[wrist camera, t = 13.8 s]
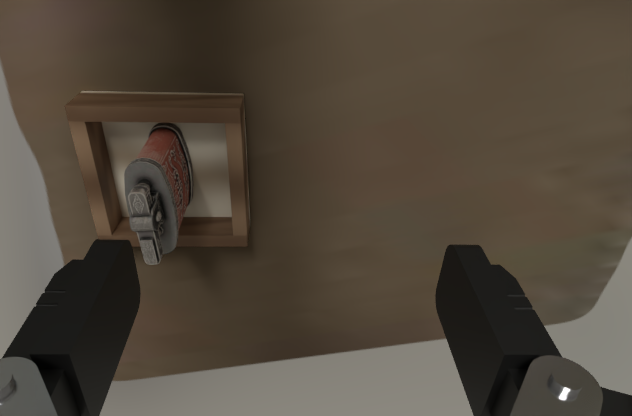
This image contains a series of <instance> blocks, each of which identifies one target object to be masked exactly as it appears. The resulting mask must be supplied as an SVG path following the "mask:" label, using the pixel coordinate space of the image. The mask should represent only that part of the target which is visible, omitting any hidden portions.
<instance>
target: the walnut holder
mask: <svg viewBox="0 0 632 416" xmlns="http://www.w3.org/2000/svg"><path fill="white" fill-rule="evenodd" d="M65 110H66V114H67V118H68V122H69V126H70V130H71V133H72V137H73V141H74V145H75V149H76V153H77V157H78V161H79V165H80V169H81V172H82V176H83V180H84V184H85V188H86V192H87V196H88V200H89V204H90V208H91V211H92V215H93V219H94V223H95V227H96V231H97V235H98V239H109V240H129V241H130V243H131V245H132V247H141V246H140V243H139V239H138V236H137V234H136V232H134V231H132V230H131V228H130V224H129V217H130V216H129V213H128V208H127V202H126V197H125V183H124V173H125V169H126V168H127V166H128V165H129V164H130V162H131V161H133V160H135V159H136V157H137V156H138V154H139V153H140V151H141V149H142V148H143V146H144V145H145V143H146V142H147V140H148V135H149V132H150V131H151V129H152V128H153V126H154V125H156V124H158V123H173V124H175V125H176V126H178V127H179V128H180V130H181V131H182V133H183V136H184V139H185V141H186V144H187V146H188V150H189V154H190V158H191V162H192V167H193V178H194V187H193V198H192V201H191V203H190V205H189V206H188V207H187V208H186V211H185V214H184V216H183V219H182V222H181V225H180V228H179V231H178V241H177V244H176V247H248V240H249V232H250V206H249V186H248V166H247V147H246V127H245V107H244V93H181V92H116V91H81V92H80V93H79V94H78V95H77V96H76V97H75V98H73V99H72V100H71V101H70V102H69V103H68V104H66V105H65Z"/></svg>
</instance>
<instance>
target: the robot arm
mask: <svg viewBox="0 0 632 416" xmlns="http://www.w3.org/2000/svg"><path fill="white" fill-rule="evenodd" d="M139 304H140V284H139V279H138V274H137V269H136V264H135V259H134V254H133V249H132V245H131V243H130V241H129V240H109V239H97V240H95V241H94V242H93V244H92V246H91V247H90V249H89V251H88V253H87V254H86V256H85V258H84V260H72V261H70V262H69V263H68V264H67V265H65V266H64V267H63V268H61V269H60V270H59V271H58V272H57V273H55V274H54V276H53V278H52V279H51V281H50V282H49V284H48V286H47V287H46V289H45V293H43V294H42V295H41V297H40V298H39V300H38V301H37V303H36V307H34V308H33V310H32V311H31V313H30V314H29V316H28V317H27V319H26V321H25V322H24V324H23V325H22V327H21V329H20V331H19V332H18V333H17V335H16V337H15V338H14V340H13V342H12V343H11V345H10V346H9V348H8V349H7V351H6V353H5V354H4V356H3V357H2V359H0V416H99V414H100V412H101V409H102V406H103V404H104V401H105V398H106V396H107V393H108V390H109V388H110V385H111V382H112V380H113V377H114V374H115V371H116V369H117V366H118V363H119V361H120V358H121V355H122V353H123V350H124V347H125V344H126V342H127V339H128V336H129V334H130V331H131V328H132V326H133V323H134V320H135V317H136V315H137V312H138V309H139ZM436 309H437V313H438V316H439V319H440V322H441V324H442V327H443V330H444V333H445V336H446V339H447V341H448V344H449V347H450V350H451V353H452V355H453V358H454V361H455V364H456V367H457V369H458V372H459V375H460V378H461V381H462V384H463V386H464V390H465V392H466V395H467V398H468V401H469V404H470V406H471V409H472V412H473V415H474V416H632V396H631V395H628V394H624V393H620V392H616V391H612V390H609V389H606V388H602V387H600V386H599V384H598V382H597V381H596V379H595V378H594V377H593V376H592V375H591V374H590V373H589V372H588V371H587V370H585V369H584V368H583V367H582V366H580V365H579V364H577V363H575V362H573V361H571V360H569V359H566V358H563V357H562V356H561V354H560V353H559V351H558V349H557V348H556V346H555V344H554V343H553V341H552V339H551V337H550V336H549V334H548V332H547V331H546V329H545V327H544V326H543V324H542V322H541V320H540V319H539V317H538V315H537V314H536V312H535V310H532V305H531V304H530V302H529V300H528V298H527V297H525V293H524V292H523V290H522V288H521V287H520V285H519V283H518V282H517V280H516V278H515V277H513V276H512V275H511V274H510V273H509V272H508V271H506V270H505V269H504V268H503V267H502V266H501V265H491V264H490V262H489V260H488V259H487V257H486V255H485V253H484V251H483V249H482V248H481V247H480V246H479V245H449V246H448V247H447V249H446V252H445V256H444V260H443V264H442V268H441V272H440V276H439V280H438V284H437V288H436Z"/></svg>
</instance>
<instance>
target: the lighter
mask: <svg viewBox="0 0 632 416" xmlns="http://www.w3.org/2000/svg"><path fill="white" fill-rule="evenodd" d="M124 183H125V197H126V202H127V208H128V213H129V216H130V217H129V224H130V228H131V230H132V231H134V232H136V234H137V236H138V239H139V243H140V246H141V250H142V254H143V258H144V261H145V262H146V263H147V264H150V265H155V264H159V263H160V261H161V258H162V256H163V254H168V253H170V252H172V251H173V250H174V249H175V247H176V244H177V241H178V231H179V228H180V225H181V222H182V219H183V216H184V214H185V211H186V208H187V207H188V206H189V205H190V203H191V201H192V198H193V187H194V178H193V167H192V162H191V158H190V154H189V150H188V146H187V144H186V141H185V139H184V136H183V133H182V131H181V130H180V128H179V127H178V126H176V125H175V124H173V123H158V124H156V125H154V126H153V128H152V129H151V131H150V132H149V135H148V140H147V142H146V143H145V145H144V146H143V148H142V149H141V151H140V153H139V154H138V156H137V157H136V159H135V160H133V161H131V162H130V164H129V165H128V166H127V168H126V169H125V173H124Z"/></svg>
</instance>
